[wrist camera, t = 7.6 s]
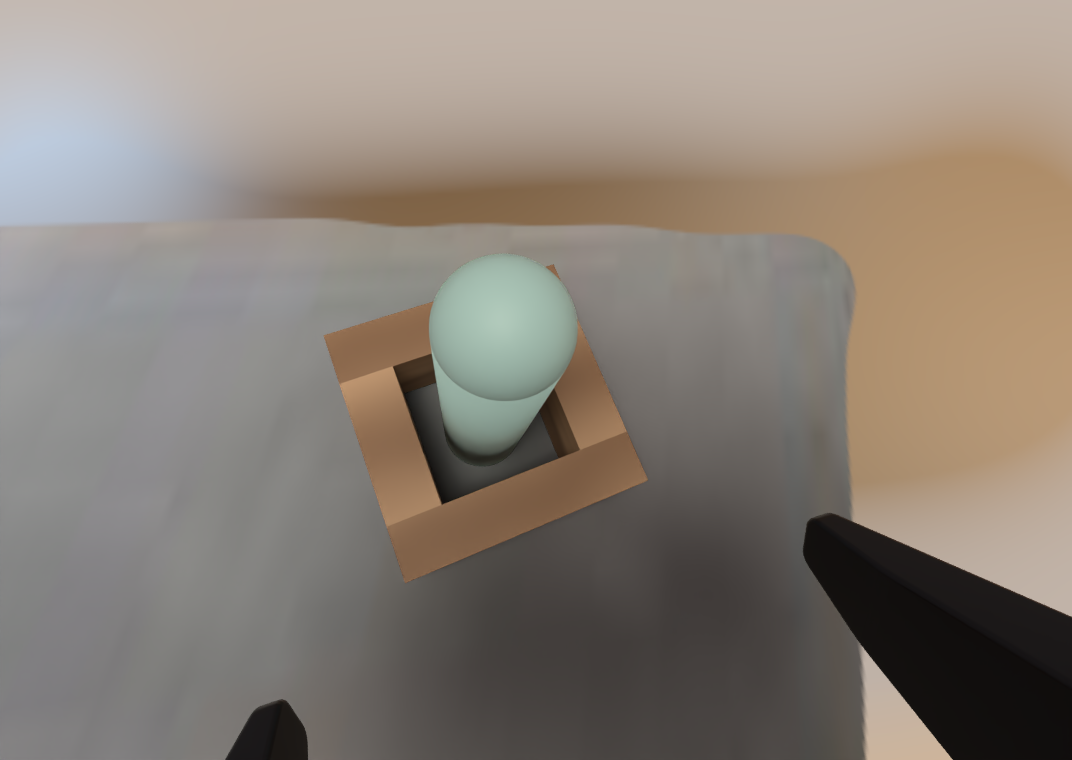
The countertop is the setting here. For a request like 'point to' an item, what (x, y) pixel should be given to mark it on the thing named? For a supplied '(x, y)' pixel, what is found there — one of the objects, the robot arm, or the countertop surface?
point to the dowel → (498, 351)
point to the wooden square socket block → (497, 510)
